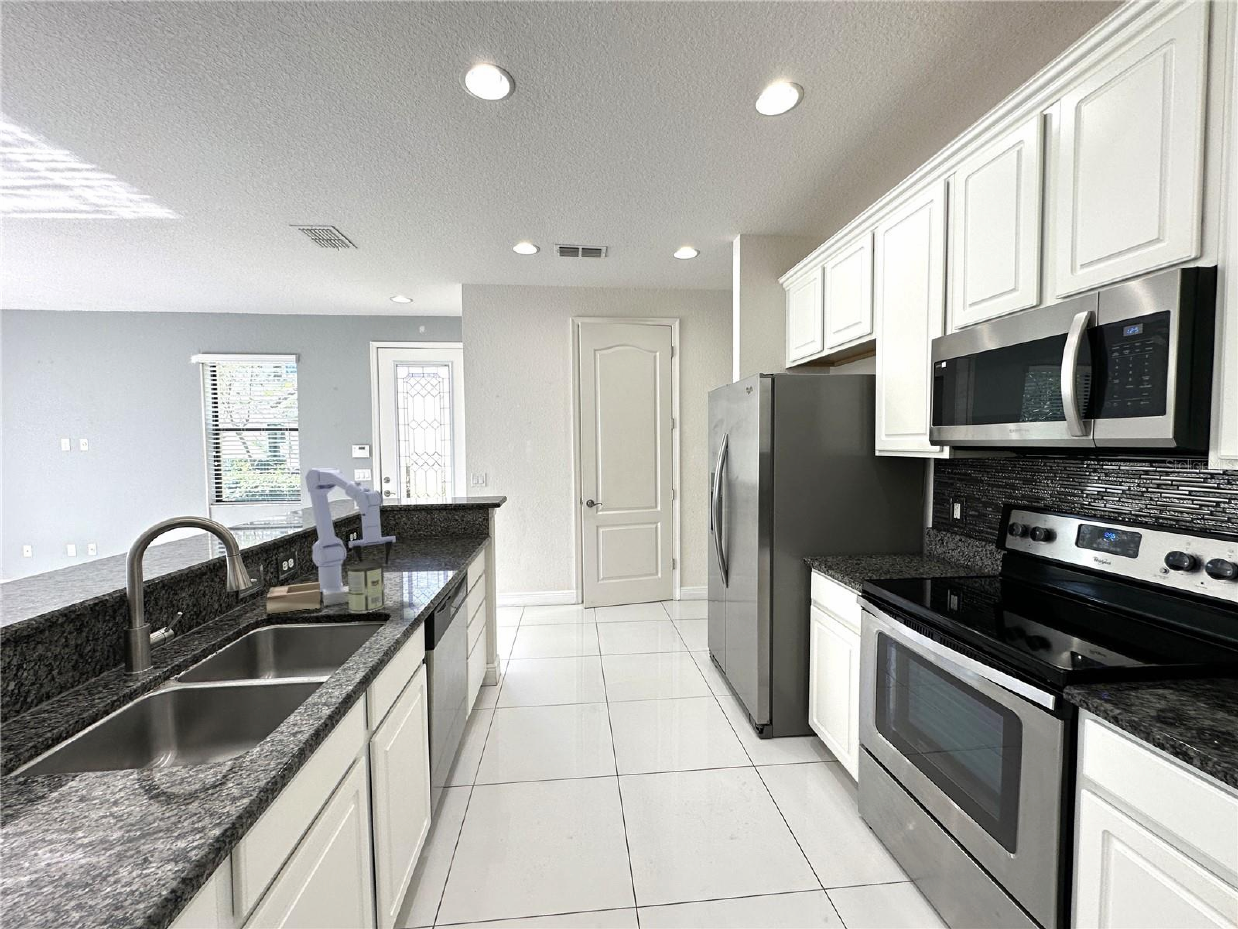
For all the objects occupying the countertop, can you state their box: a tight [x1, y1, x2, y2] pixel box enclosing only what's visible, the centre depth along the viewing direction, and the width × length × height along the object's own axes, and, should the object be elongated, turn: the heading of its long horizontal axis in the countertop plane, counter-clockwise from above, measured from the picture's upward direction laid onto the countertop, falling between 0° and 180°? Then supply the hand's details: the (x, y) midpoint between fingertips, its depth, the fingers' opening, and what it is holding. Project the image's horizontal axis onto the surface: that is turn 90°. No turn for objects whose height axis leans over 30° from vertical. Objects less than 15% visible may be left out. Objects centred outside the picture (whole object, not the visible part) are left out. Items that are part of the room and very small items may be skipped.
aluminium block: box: [322, 585, 349, 607], centre depth 174 cm, size 8×10×4 cm
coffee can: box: [346, 560, 385, 614], centre depth 165 cm, size 10×10×14 cm
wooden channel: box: [266, 581, 321, 614], centre depth 168 cm, size 13×14×6 cm
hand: (374, 565), depth 179 cm, fingers open, 7 cm apart
